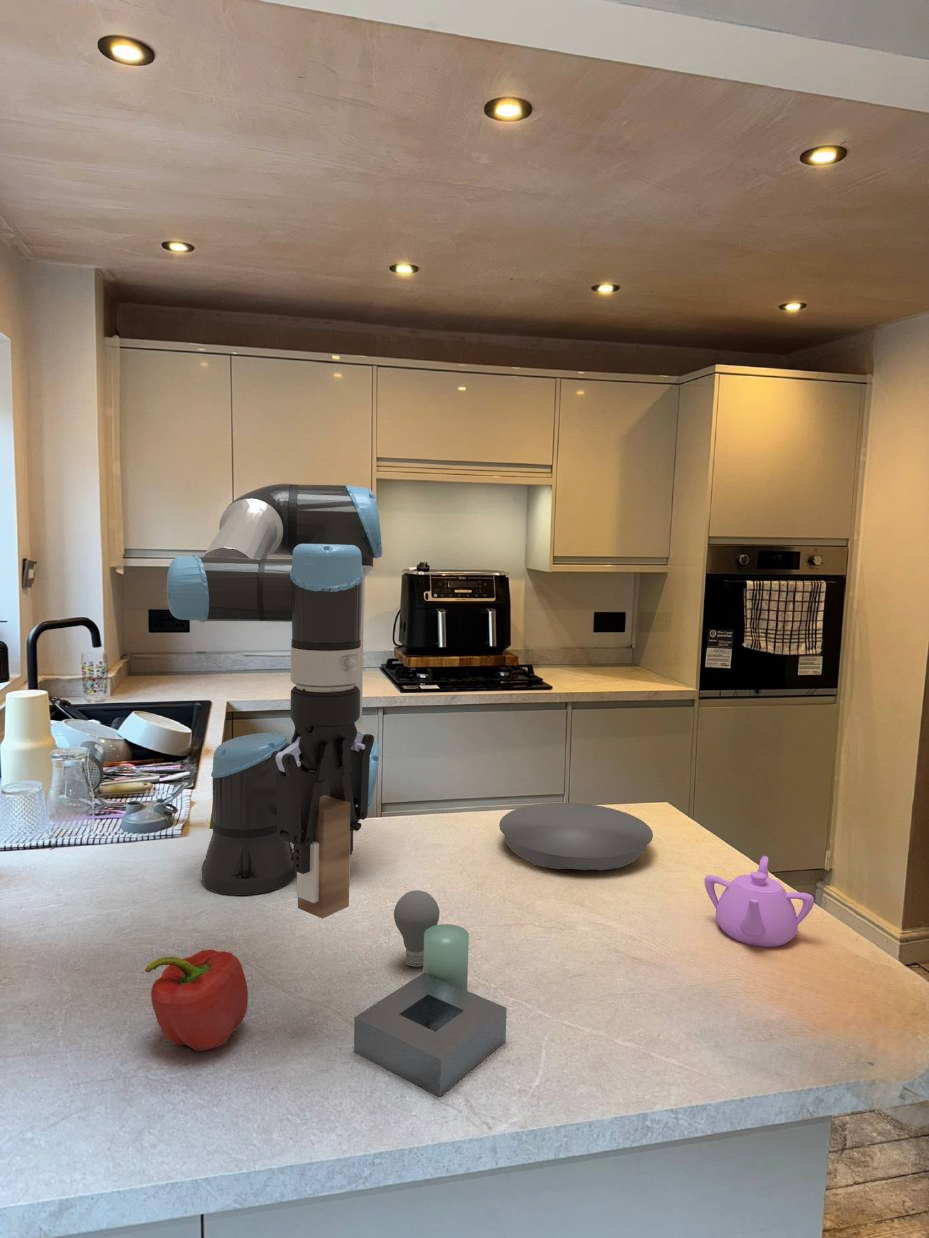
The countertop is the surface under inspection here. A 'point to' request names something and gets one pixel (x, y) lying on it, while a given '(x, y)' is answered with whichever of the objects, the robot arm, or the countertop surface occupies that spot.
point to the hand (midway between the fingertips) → (323, 891)
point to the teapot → (757, 908)
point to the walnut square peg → (331, 858)
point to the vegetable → (199, 998)
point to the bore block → (430, 1032)
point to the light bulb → (415, 922)
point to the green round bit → (447, 954)
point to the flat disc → (575, 835)
